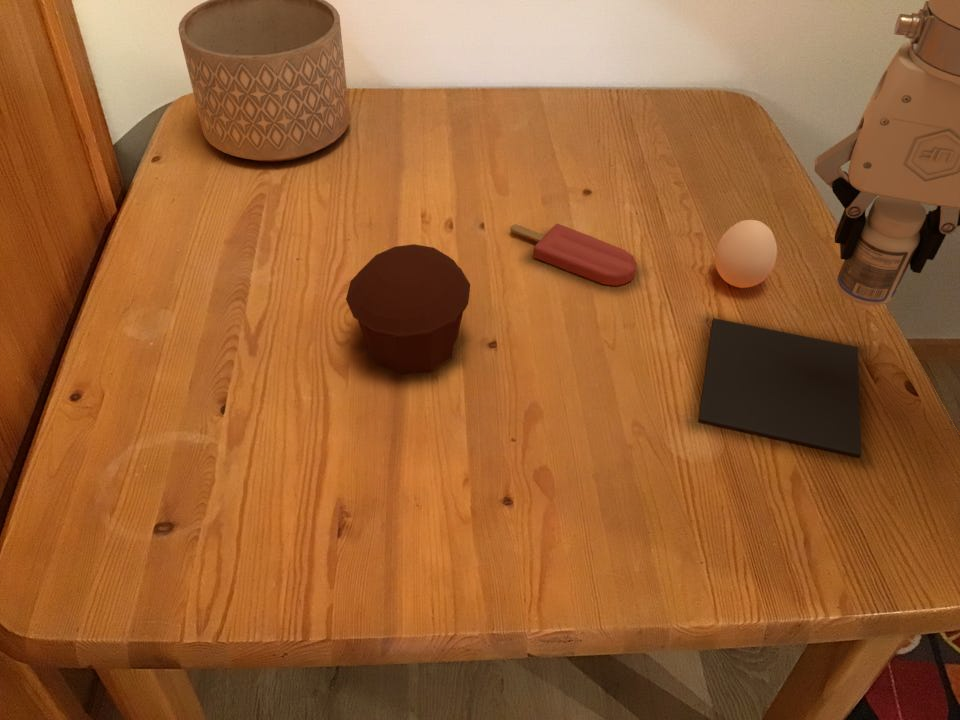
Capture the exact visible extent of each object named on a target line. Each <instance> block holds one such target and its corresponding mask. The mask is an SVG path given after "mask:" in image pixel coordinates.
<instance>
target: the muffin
mask: <svg viewBox="0 0 960 720" xmlns="http://www.w3.org/2000/svg"><path fill="white" fill-rule="evenodd" d="M347 289H348V290H347V293H346V297H345V301H346V303H347V305H348V308H349V310H350V312H351V314H352V317H353V318H354V319H356V320H357V323H358V326H359V328H360V331H361V335H362V337H363V341H364V343H365V346H366V348H367V349H368V351H369V352H370V354H371V355H372V358H373V361H374V362H375V365H377V366H379V367H382V368H384V369H385V368H386V369H387V370H391V371H392V372H395V373H397V374H398V375H399V376H403V375H409V374H416V373H417V374H418V373H420V374H421V373H423V374H424V373H432V372H433V371H434V370H435V369H437V368H438V367H439V366H441V365H442V364H444V363H446V362H448V361H450V360H452V359H453V354H454V350H455V345H456V343H457V341H458V337H459V334H460V328H461V324H462V320H463V319H462V318H463V315H464V311H465V310H466V309H467V307H468V305H469V302H470V301H469V300H470V291H471V283H470V281H469V280H468V278H467V276H466V274H465V273H464V271H463V270H462V268H461V267H459V265H458V264H457V262H456V261H455V260H454V259H453V258H452V257H450V255H447V254H445V253H444V252H442V251H441V250H439V249H437V248H436V247H434V246H433V247H432V246H426V245H421V244H416V243H415V244H406V245H405V244H404V245H397V246H393V247H391V248H389V249H386V250H384V251H381V252H380V253H377V254H375V255H374V256H373V257H372V258H371V259H370V260H369V261H368V262H367V263H366V264H365V265H364V266H363V267H362V268H361V269H360V270H359V271H358V273H356V275H355V276H354V277H353V278H352V279H351V280H350V281H349V287H348V288H347Z"/></svg>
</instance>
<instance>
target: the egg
mask: <svg viewBox="0 0 960 720" xmlns="http://www.w3.org/2000/svg"><path fill="white" fill-rule="evenodd" d="M777 256H778V244H777V241H776V238H775V235H774V233H773V231H772V229H771V228H770V227H769V226H768V225H766V224H765V223H763V222H762V221H760V220H756V219H743V220H741V221H738V222H737V223H735V224H734V225H731V226H730V228H729V229H727V231H725V232H724V233H723V234H722V236H721V238H720V239H719V241H718V243H717V246H716V249H715V254H714V264H715V268H716V271H717V273H718V275H719V276H720V277H721V278H722V280H723V281H724V282H726V283H727V284H728V285H731V286H732V287H735V288H739V289H746V288H751V287H755V286H757V285H759V284H761V283H762V282H764V281H765V280H766V279H767V278H768V277H769V276H770V275H771V273H772V272H773V270H774V268H775V266H776V261H777Z"/></svg>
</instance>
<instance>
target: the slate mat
mask: <svg viewBox="0 0 960 720" xmlns="http://www.w3.org/2000/svg"><path fill="white" fill-rule="evenodd" d="M710 329H711V330H710V336H709V343H708V348H707V349H708V350H707V357H706V364H705V371H704V376H703V377H704V379H703V385H702V391H701V399H700V405H699V406H700V407H699V412H698V413H699V414H698V421H697V422H698V423H701V424H706V425H711V426H714V427H721V428H723V429H724V428H725V429H728V430H732V431H737V432H743V433H747V434H751V435H756V436H760V437H761V436H762V437H764V438H765V437H766V438H769V439H774V440H778V441H782V442H788V443H792V444H796V445H802V446H805V447H810V448H815V449H819V450H823V451H829V452H833V453H838V454H841V455H845V456H849V457H854V458H859V459H860V458H861V457H862V435H861V434H862V433H861V432H862V431H861V403H860V402H861V401H860V378H859V375H860V374H859V350H858V349H859V348H858V346H855V345H849V344H845V343H839V342H836V341H830V340H825V339H821V338H820V339H819V338H814V337H810V336H805V335H800V334H794V333H790V332H784V331H779V330H775V329H770V328H766V327H765V328H764V327H759V326H755V325H749V324H744V323H740V322H734V321H729V320H725V319H720V318H714V317H713V318H712V323H711V328H710Z"/></svg>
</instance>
